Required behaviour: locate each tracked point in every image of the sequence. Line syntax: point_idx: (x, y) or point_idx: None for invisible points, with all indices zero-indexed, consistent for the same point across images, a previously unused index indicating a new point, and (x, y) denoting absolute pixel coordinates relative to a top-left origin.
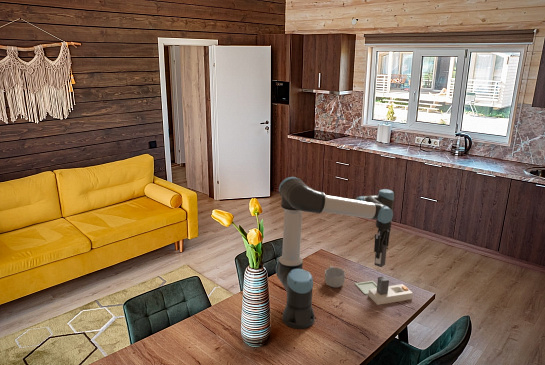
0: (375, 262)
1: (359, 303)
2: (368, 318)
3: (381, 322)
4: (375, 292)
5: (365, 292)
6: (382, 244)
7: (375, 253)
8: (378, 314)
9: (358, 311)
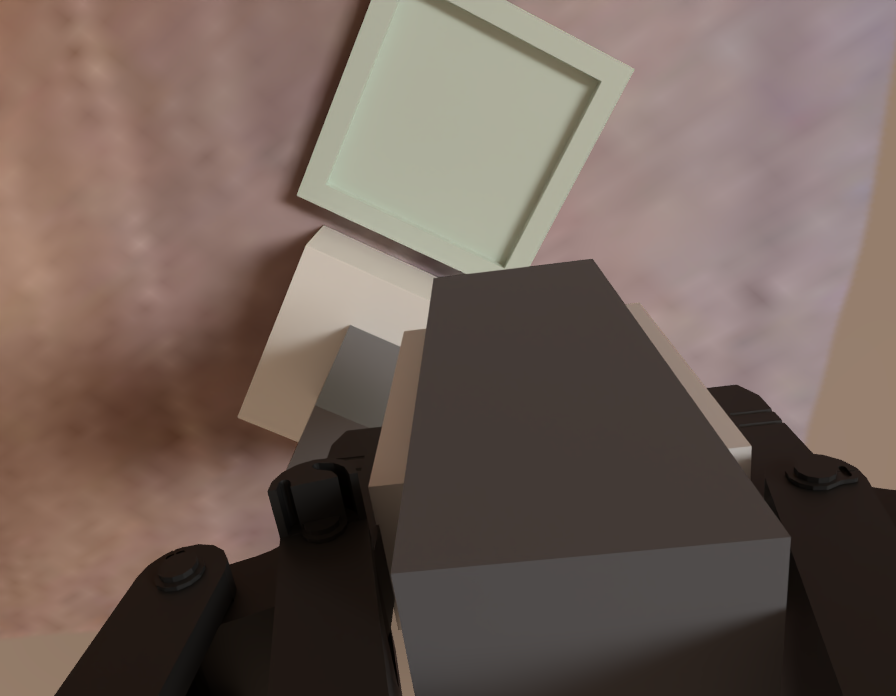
0: (404, 339)
1: (137, 249)
2: (39, 441)
3: (97, 531)
4: (310, 336)
5: (323, 182)
6: (720, 683)
7: (418, 389)
8: (160, 461)
9: (30, 326)
